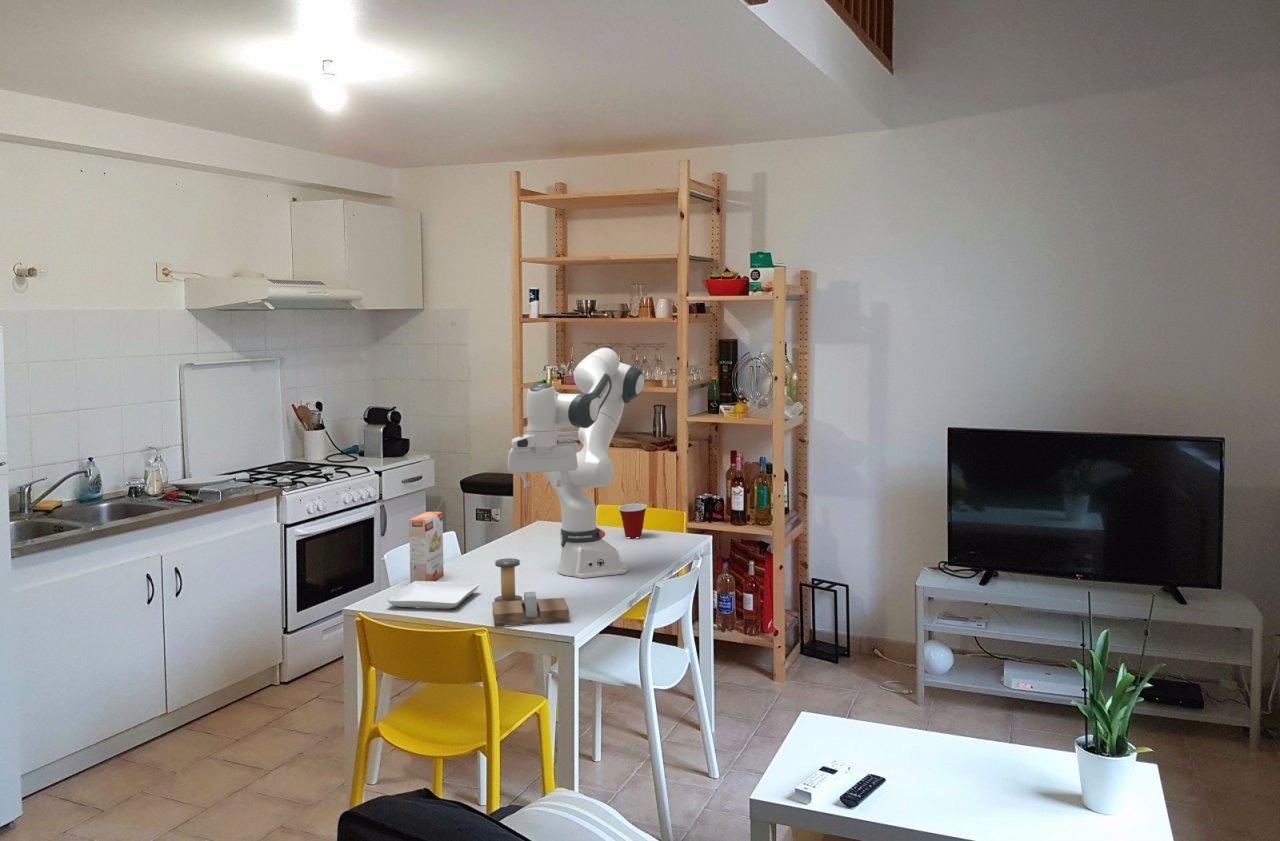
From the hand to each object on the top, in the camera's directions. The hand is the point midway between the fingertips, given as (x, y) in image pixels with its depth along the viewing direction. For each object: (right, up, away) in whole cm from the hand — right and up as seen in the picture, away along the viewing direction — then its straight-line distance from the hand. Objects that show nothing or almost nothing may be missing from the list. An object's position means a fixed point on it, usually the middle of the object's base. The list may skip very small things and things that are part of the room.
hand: (543, 487), depth 300 cm
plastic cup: (+25, -25, +86) cm, 93 cm away
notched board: (-2, -35, -16) cm, 39 cm away
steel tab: (-2, -34, -17) cm, 38 cm away
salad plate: (-32, -34, +2) cm, 47 cm away
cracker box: (-39, -31, +26) cm, 57 cm away
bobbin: (-10, -34, -2) cm, 35 cm away
